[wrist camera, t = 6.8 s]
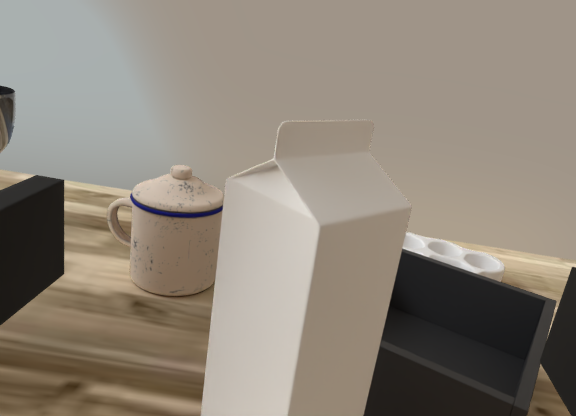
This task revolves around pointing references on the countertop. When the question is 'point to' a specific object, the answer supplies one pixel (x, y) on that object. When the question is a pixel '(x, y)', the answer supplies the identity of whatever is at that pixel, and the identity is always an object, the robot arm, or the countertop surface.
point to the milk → (304, 276)
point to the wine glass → (6, 115)
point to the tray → (457, 344)
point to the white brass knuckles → (455, 255)
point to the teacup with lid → (172, 232)
